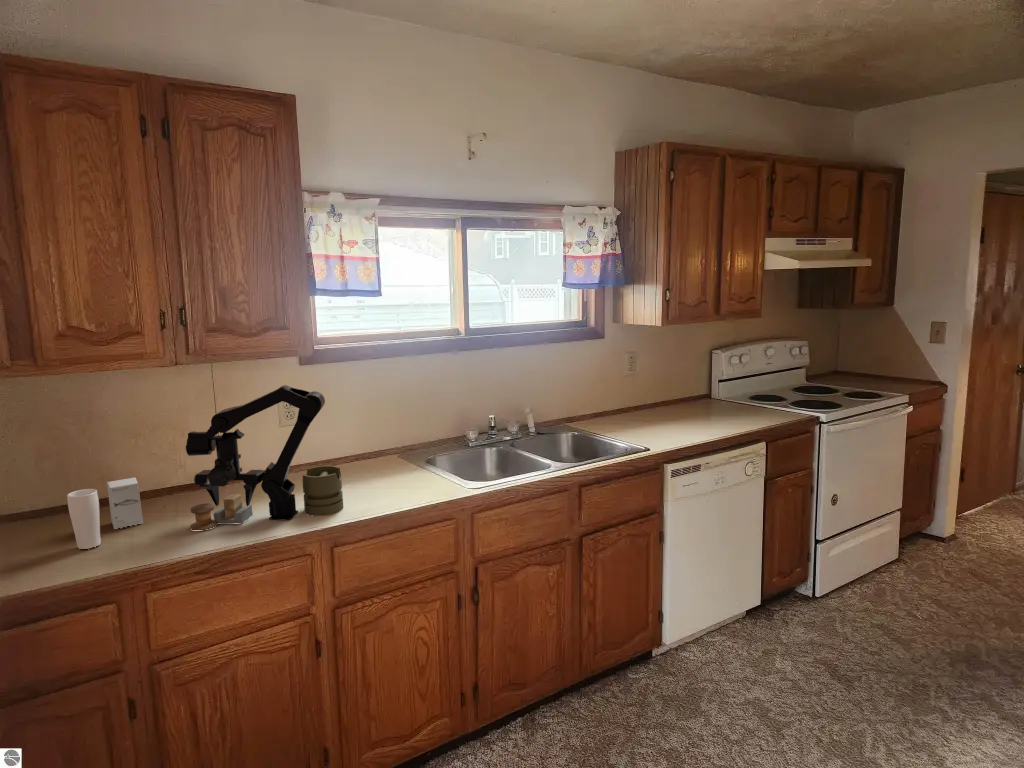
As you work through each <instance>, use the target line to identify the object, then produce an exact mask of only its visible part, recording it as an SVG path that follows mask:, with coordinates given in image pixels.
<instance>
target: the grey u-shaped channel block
mask: <svg viewBox="0 0 1024 768" xmlns="http://www.w3.org/2000/svg"><path fill="white" fill-rule="evenodd" d="M252 505H253V504H249V505H248V506H247V505H246V504H245V505H244V506H242V508H241V509H240V510H239V511H237V512H236V513H235V518H230V517H225V509H224V505H223V506H222V507H220V508H219V509H218V510H216V511H215V512H213V520H214V521H217V522H218V523H242V524H244V523H245V522H246V521H247V520H248V519H250V518H251V517H252V516H254V514H253V507H252ZM251 515H252V516H251ZM250 516H251V517H250ZM249 517H250V518H249ZM246 519H247V520H246ZM245 520H246V521H245ZM244 521H245V522H244ZM243 522H244V523H243Z"/></svg>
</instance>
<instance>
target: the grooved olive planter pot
mask: <svg viewBox="0 0 1024 768" xmlns="http://www.w3.org/2000/svg"><path fill="white" fill-rule="evenodd" d="M306 469H307V470H306V474H302V490H303V491H302V492H303V493H304V494H303V506H304V513H305V514H306V515H307V514H308V515H307V516H311V515H313V517H324V516H331V515H335V514H337V513H340V512H341V511H342V510H344V498H343V495H344V494H343V490H342V489H343V485H342V484H343V482H342V481H343V480H342V474H341V467H339V466H336V465H319V466H313V467H309V468H306ZM339 511H340V512H339Z"/></svg>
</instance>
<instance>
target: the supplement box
mask: <svg viewBox="0 0 1024 768" xmlns="http://www.w3.org/2000/svg"><path fill="white" fill-rule="evenodd" d="M106 487H107V488H106V489H107V494H108V495H107V496H108V502H109V512H110V521H111V524H113V525H112V526H113V527H112V528H113V530H114V529H117V530H119V529H118V528H120V529H123V527H125V528H128V527H127V526H130V527H133V526H132V525H135V526H138V525H137V524H141V525H143V524H144V520H143V511H142V505H141V496H140V487H139V482H138V480H137V478H136V477H129V478H124V479H118V480H112V481H111V480H110V481H107V482H106Z"/></svg>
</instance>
